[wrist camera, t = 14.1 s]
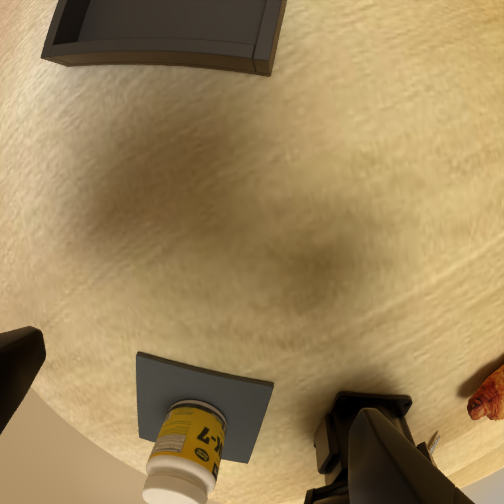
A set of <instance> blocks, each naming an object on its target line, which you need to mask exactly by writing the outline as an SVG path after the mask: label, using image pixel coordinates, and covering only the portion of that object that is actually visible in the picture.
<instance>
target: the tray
mask: <svg viewBox="0 0 504 504" xmlns="http://www.w3.org/2000/svg"><path fill="white" fill-rule="evenodd" d="M286 2H287V0H59V1H58V3H57V6H56V9H55V12H54V15H53V18H52V21H51V24H50V27H49V30H48V33H47V36H46V40H45V43H44V47H43V50H42V54H41V59H45V60H48V61H51V62H55V63H58V64H61V65H64V66H67V67H69V66H83V65H104V64H153V65H175V66H190V67H202V68H212V69H221V70H229V71H237V72H244V73H251V74H257V75H264V76H271V73H272V68H273V63H274V58H275V53H276V49H277V44H278V39H279V34H280V30H281V25H282V20H283V16H284V11H285V6H286Z"/></svg>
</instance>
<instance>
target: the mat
mask: <svg viewBox="0 0 504 504" xmlns="http://www.w3.org/2000/svg"><path fill="white" fill-rule="evenodd" d="M136 384H137V410H138V427H139V438H142V439H145V440H149V441H152V442H156V440H157V438H158V435H159V433H160V430H161V428H162V425H163V423H164V421H165V418H166V416H167V414H168V411H169V409H170V408H171V407H172V406H173V405H174V404H175V403H178V402H180V401H184V400H197V401H201V402H205V403H207V404H209V405H211V406H213V407H215V408H216V409H217V410H218V411H219V412H220V413H221V414H222V415H223V416H224V418H225V420H226V423H227V430H226V435H225V440H224V445H223V450H222V456H221V459H224V460H229V461H235V462H241V463H247V464H248V462H249V459H250V456H251V453H252V451H253V448H254V445H255V442H256V439H257V436H258V433H259V430H260V427H261V424H262V421H263V418H264V415H265V412H266V409H267V406H268V403H269V400H270V397H271V394H272V391H273V388H274V383H270V382H264V381H258V380H253V379H248V378H243V377H238V376H233V375H228V374H223V373H219V372H214V371H210V370H205V369H201V368H197V367H193V366H189V365H185V364H181V363H177V362H173V361H169V360H166V359H162V358H158V357H155V356H151V355H148V354H144V353H141V352H138V353H137V355H136Z"/></svg>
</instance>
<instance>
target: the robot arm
mask: <svg viewBox="0 0 504 504" xmlns="http://www.w3.org/2000/svg"><path fill="white" fill-rule="evenodd" d="M45 358H46V350H45V344H44V338H43V333H42V331H41V330H39V329H37V328H35V327H32V326H27V327H23V328H20V329H16V330H12V331H8V332H4V333H0V434H1V433H2V431H3V430H4V428H5V426H6V425H7V423H8V422H9V420H10V419H11V417H12V415H13V414H14V412H15V411H16V410H17V408H18V407H19V405H20V404H21V402H22V400H23V399H24V397H25V395H26V394H27V392H28V390H29V388H30V386H31V384H32V383H33V381H34V379H35V377H36V375H37V373H38V372H39V370H40V368H41V366H42V364H43V363H44V361H45ZM341 398H344V399H341ZM406 402H407V403H406ZM411 405H412V399H411V398H410V397H408V396H389V395H375V394H363V393H352V392H340V393H339V394H337V396H336V398H335V400H334V402H333V404H332V406H331V408H330V410H329V412H328V413H327V414H326V415H324V417H323V419H322V421H321V423H320V425H319V427H318V429H317V431H316V433H315V440H314V447H315V448H316V456H317V468H318V472H319V473H320V474H325V484H326V486H323V487H320V488H317V489H315V488H313V489H310V490H307V493H306V497H305V501H304V504H475V503H473V502H472V501H471V500H470V499H469V498H468V497H467V496H466V495H464V493H462V491H460V489H458V488H457V487H455V485H454V484H453V483H452V482H451V481H450V480H449V479H448V478H447V477H446V476H445V475H444V474H443V473H442V472H441V471H440V470H439V469H438V468H437V466H436V464H435V462H434V460H433V457H432V455H431V453H430V451H429V449H428V447H427V445H426V443H425V441H424V442H422V443H420V444H418V445H417V447H416V446H415V443H414V440H413V438H412V435H411V433H410V430H409V427H408V425H407V422H406V420H405V417H404V416H405V415H406V413H407V412H408V410H409V408H410V407H411Z"/></svg>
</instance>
